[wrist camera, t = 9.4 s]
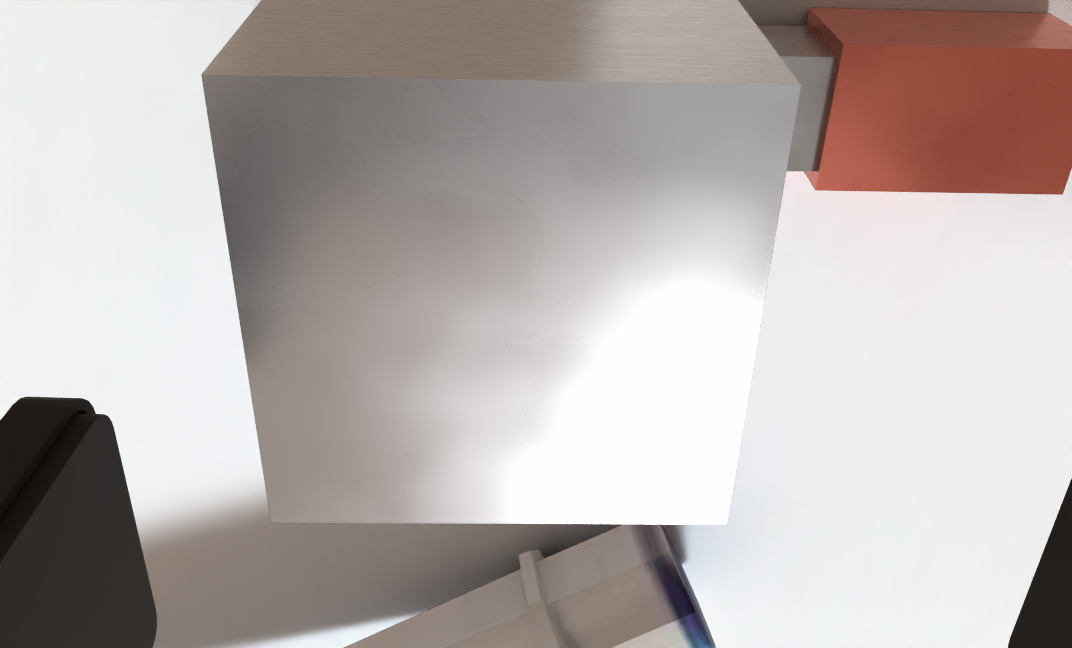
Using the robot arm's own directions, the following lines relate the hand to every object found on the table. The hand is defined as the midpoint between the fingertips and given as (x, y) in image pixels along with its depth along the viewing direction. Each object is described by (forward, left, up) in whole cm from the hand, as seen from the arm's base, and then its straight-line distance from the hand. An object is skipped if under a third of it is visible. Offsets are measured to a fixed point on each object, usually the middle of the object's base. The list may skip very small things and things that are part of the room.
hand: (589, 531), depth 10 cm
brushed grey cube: (+1, -1, -10) cm, 10 cm away
